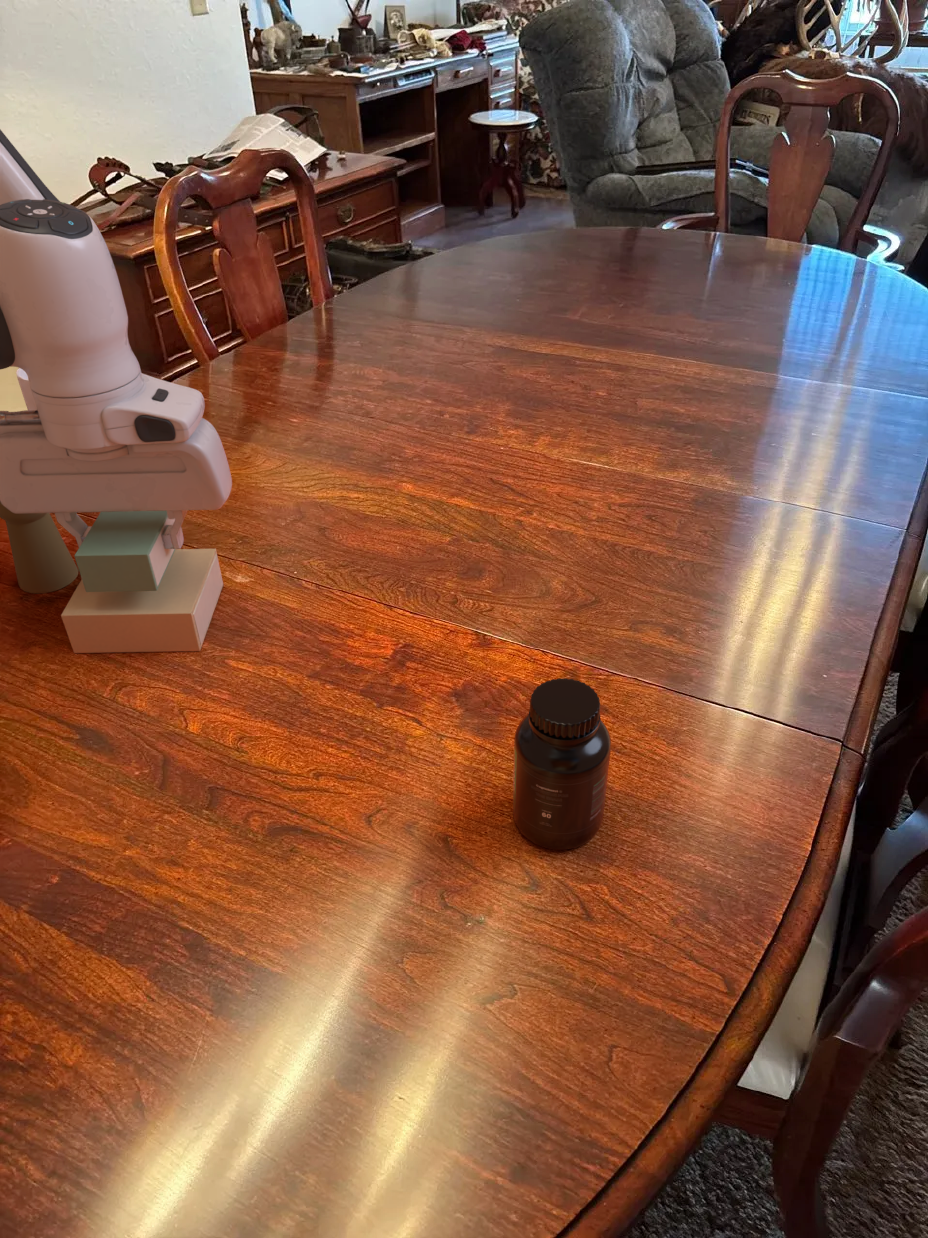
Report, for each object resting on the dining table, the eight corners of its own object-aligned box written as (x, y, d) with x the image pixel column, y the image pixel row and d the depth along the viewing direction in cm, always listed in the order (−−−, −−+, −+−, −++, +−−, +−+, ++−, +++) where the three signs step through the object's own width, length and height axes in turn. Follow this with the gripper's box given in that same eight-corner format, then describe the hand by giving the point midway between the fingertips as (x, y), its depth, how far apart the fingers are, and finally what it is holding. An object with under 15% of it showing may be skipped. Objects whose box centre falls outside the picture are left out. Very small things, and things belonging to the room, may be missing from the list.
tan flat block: (73, 653, 87) (60, 615, 85) (108, 586, 96) (97, 550, 93) (201, 651, 87) (192, 613, 84) (224, 584, 96) (216, 548, 93)
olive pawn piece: (90, 570, 98) (61, 479, 92) (44, 599, 94) (10, 506, 88) (52, 555, 101) (21, 465, 94) (6, 583, 97) (-30, 491, 90)
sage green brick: (85, 592, 84) (73, 555, 81) (118, 534, 92) (107, 499, 89) (157, 591, 84) (147, 554, 81) (183, 533, 92) (175, 497, 89)
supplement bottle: (495, 827, 70) (496, 710, 62) (540, 771, 74) (546, 656, 67) (575, 868, 66) (586, 749, 59) (618, 807, 71) (632, 690, 64)
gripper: (-43, 427, 76) (10, 567, 84) (204, 422, 76) (233, 563, 84) (-12, 396, 81) (35, 531, 89) (220, 391, 81) (246, 527, 89)
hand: (133, 546), depth 87 cm, fingers closed on sage green brick, 6 cm apart
